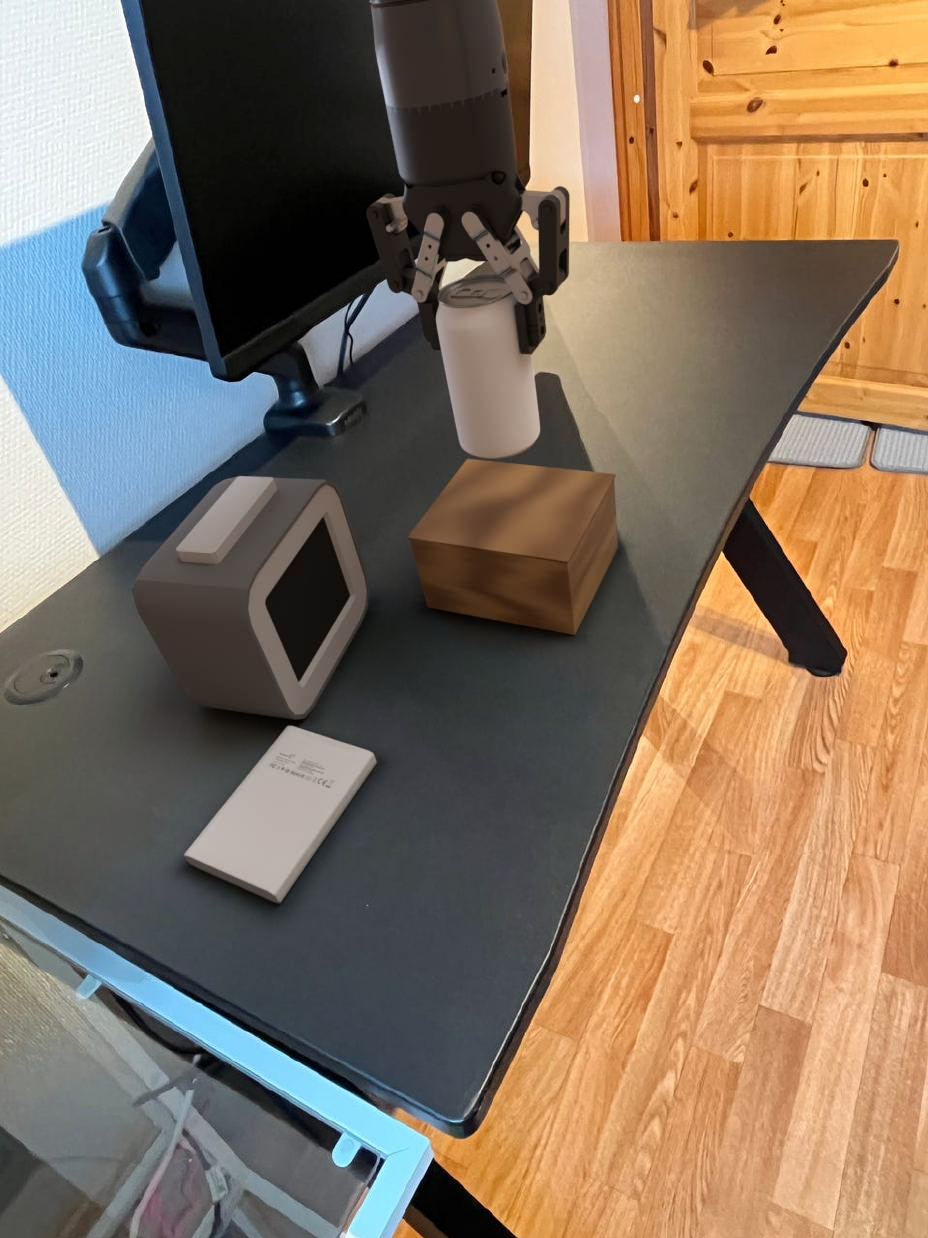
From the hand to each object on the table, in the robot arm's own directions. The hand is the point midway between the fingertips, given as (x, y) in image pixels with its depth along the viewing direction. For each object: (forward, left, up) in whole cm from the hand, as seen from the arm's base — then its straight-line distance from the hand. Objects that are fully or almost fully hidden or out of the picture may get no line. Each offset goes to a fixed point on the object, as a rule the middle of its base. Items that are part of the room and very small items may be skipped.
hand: (486, 346), depth 61 cm
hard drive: (+7, +28, -23) cm, 37 cm away
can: (0, 0, -8) cm, 8 cm away
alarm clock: (+17, +14, -23) cm, 32 cm away
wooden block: (0, -1, -22) cm, 22 cm away
